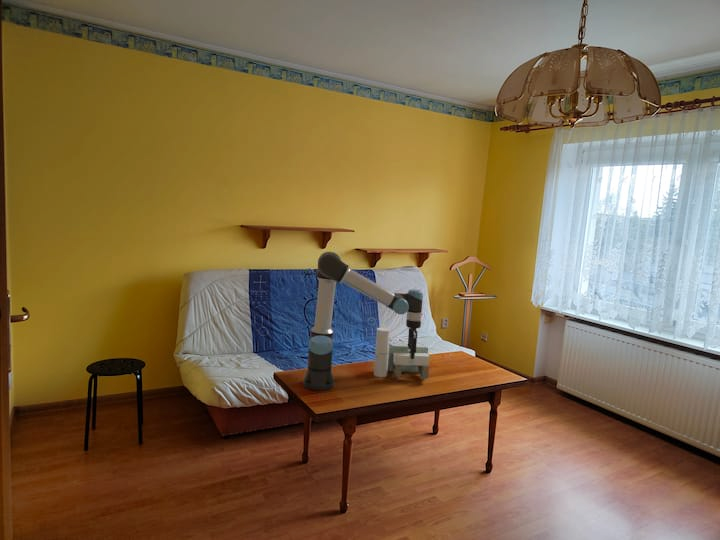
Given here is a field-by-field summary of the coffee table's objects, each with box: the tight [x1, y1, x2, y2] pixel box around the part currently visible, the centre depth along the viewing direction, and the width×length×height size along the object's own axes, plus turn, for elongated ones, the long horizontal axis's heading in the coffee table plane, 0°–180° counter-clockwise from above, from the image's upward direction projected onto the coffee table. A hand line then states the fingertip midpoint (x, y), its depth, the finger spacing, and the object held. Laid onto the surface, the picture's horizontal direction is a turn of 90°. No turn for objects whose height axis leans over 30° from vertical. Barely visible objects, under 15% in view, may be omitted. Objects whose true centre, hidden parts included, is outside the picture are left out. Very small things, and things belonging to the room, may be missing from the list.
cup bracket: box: [387, 345, 430, 381], centre depth 247 cm, size 22×19×14 cm
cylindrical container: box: [373, 327, 391, 378], centre depth 247 cm, size 7×7×25 cm
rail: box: [393, 353, 430, 367], centre depth 244 cm, size 18×5×5 cm, turn 95°
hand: (410, 362), depth 244 cm, fingers closed on rail, 5 cm apart
